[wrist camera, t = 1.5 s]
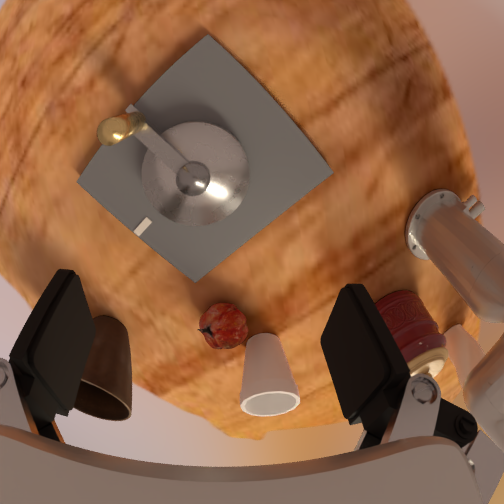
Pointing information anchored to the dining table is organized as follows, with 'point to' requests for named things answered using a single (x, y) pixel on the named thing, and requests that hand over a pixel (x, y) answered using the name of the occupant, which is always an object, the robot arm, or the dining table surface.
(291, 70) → the dining table surface
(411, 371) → the canister
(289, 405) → the foam cup
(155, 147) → the crank handle
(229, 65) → the base
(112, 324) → the plant pot
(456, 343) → the water bottle
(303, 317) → the dining table surface
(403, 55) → the dining table surface
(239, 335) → the pomegranate
